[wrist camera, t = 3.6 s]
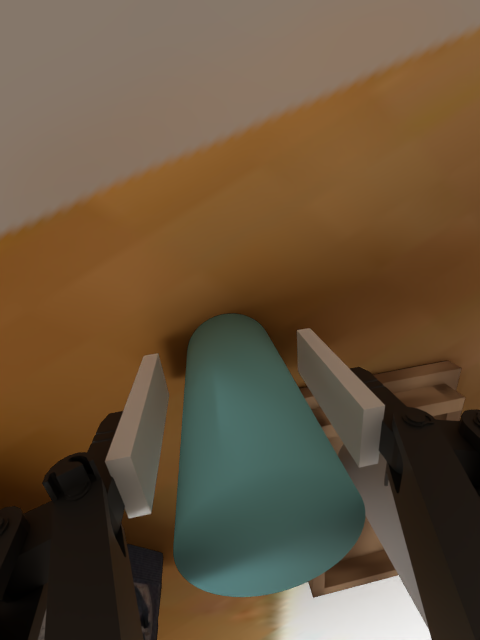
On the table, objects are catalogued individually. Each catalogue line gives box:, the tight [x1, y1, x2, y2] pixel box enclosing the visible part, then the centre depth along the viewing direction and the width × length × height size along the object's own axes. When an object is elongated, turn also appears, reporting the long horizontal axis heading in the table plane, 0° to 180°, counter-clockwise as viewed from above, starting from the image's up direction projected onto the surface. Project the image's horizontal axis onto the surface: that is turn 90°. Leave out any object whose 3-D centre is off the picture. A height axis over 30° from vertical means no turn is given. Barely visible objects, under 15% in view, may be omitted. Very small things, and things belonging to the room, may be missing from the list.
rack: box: [300, 361, 465, 598], centre depth 21 cm, size 12×21×2 cm, turn 6°
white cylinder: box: [338, 444, 429, 629], centre depth 15 cm, size 5×5×10 cm
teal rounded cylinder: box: [173, 314, 365, 597], centre depth 12 cm, size 5×5×10 cm
